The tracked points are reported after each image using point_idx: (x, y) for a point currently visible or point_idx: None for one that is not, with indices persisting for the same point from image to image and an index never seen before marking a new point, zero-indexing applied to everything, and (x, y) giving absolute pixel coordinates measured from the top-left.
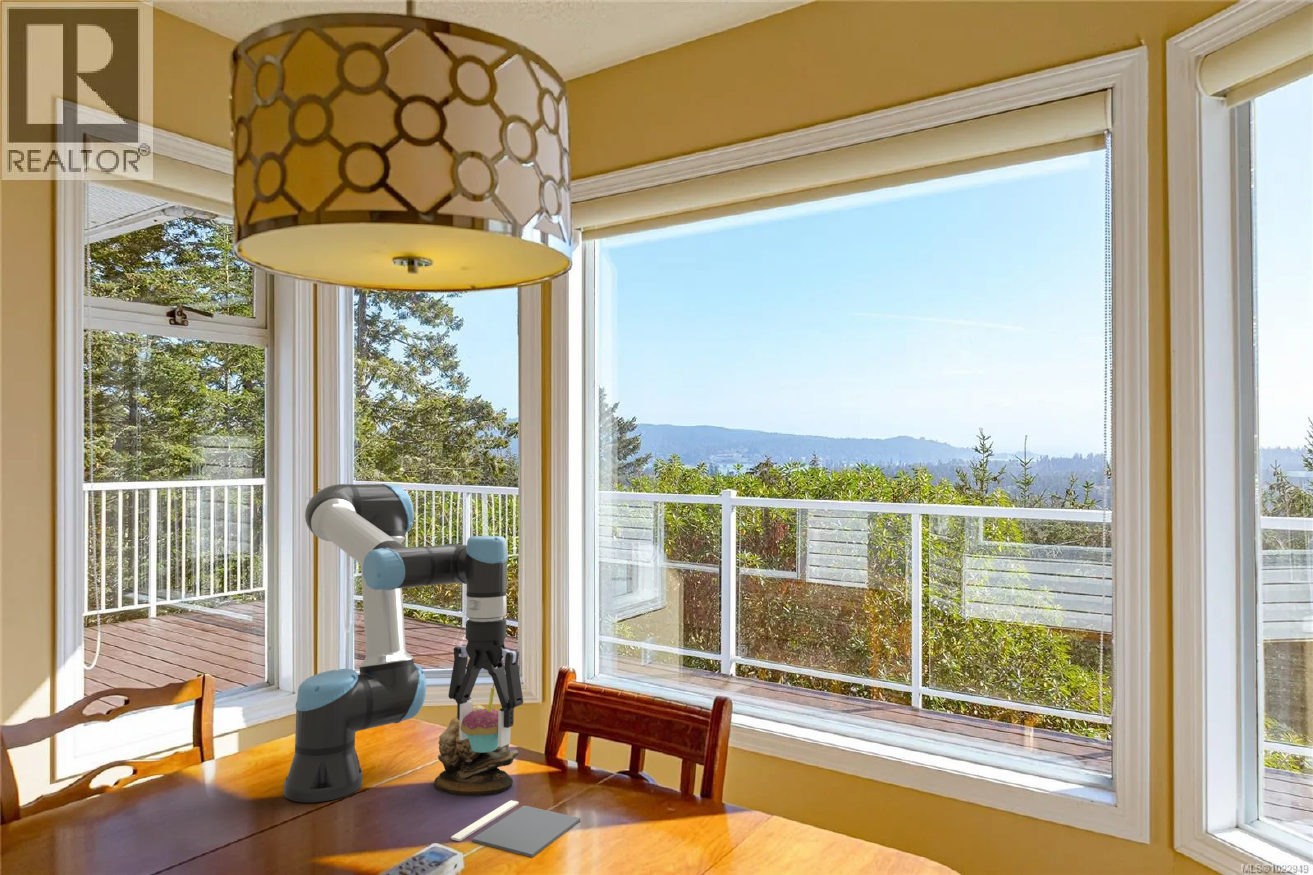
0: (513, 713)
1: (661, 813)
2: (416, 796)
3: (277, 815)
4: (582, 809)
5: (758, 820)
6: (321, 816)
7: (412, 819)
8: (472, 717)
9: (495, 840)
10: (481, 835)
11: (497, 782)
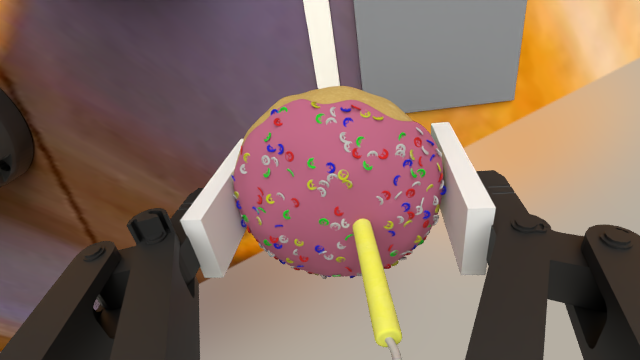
0: (525, 208)
1: None
2: (99, 34)
3: (52, 214)
4: None
5: None
6: (92, 186)
7: (202, 114)
8: (329, 275)
9: (410, 98)
10: None
11: None
